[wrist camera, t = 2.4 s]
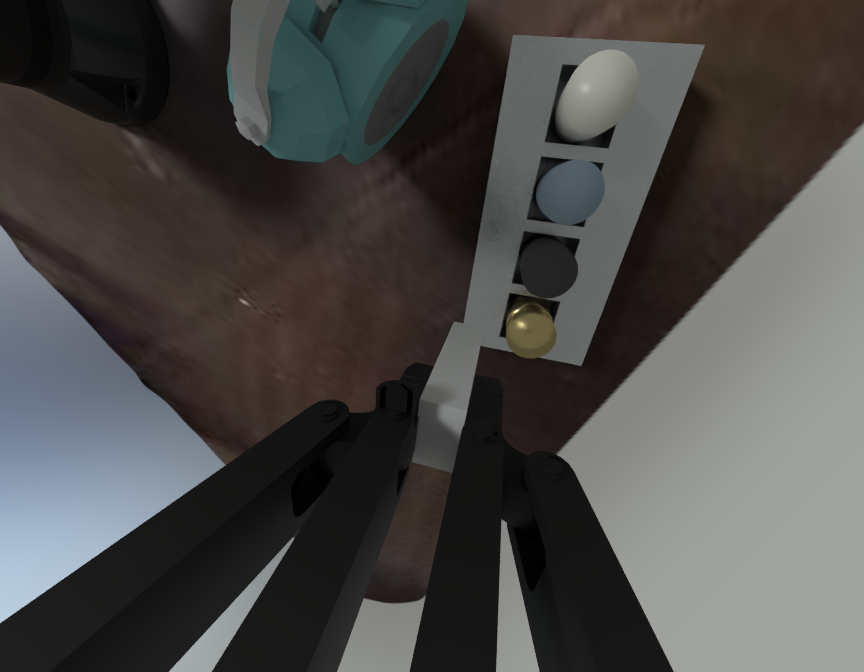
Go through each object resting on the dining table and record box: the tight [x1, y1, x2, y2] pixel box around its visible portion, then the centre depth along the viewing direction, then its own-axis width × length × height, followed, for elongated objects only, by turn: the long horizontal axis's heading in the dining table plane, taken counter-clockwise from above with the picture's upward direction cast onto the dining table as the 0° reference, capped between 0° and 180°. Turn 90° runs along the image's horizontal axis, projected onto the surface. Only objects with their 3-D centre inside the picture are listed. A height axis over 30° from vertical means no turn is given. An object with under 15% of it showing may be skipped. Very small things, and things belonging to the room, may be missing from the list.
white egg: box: [553, 50, 639, 144], centre depth 23 cm, size 4×4×6 cm
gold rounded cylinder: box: [506, 295, 557, 358], centre depth 31 cm, size 4×4×6 cm
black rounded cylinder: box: [519, 235, 578, 298], centre depth 28 cm, size 4×4×6 cm
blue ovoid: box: [535, 160, 605, 225], centre depth 26 cm, size 4×4×6 cm
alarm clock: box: [227, 0, 468, 165], centre depth 21 cm, size 17×10×20 cm, turn 137°
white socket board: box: [464, 35, 705, 366], centre depth 30 cm, size 13×26×4 cm, turn 174°
